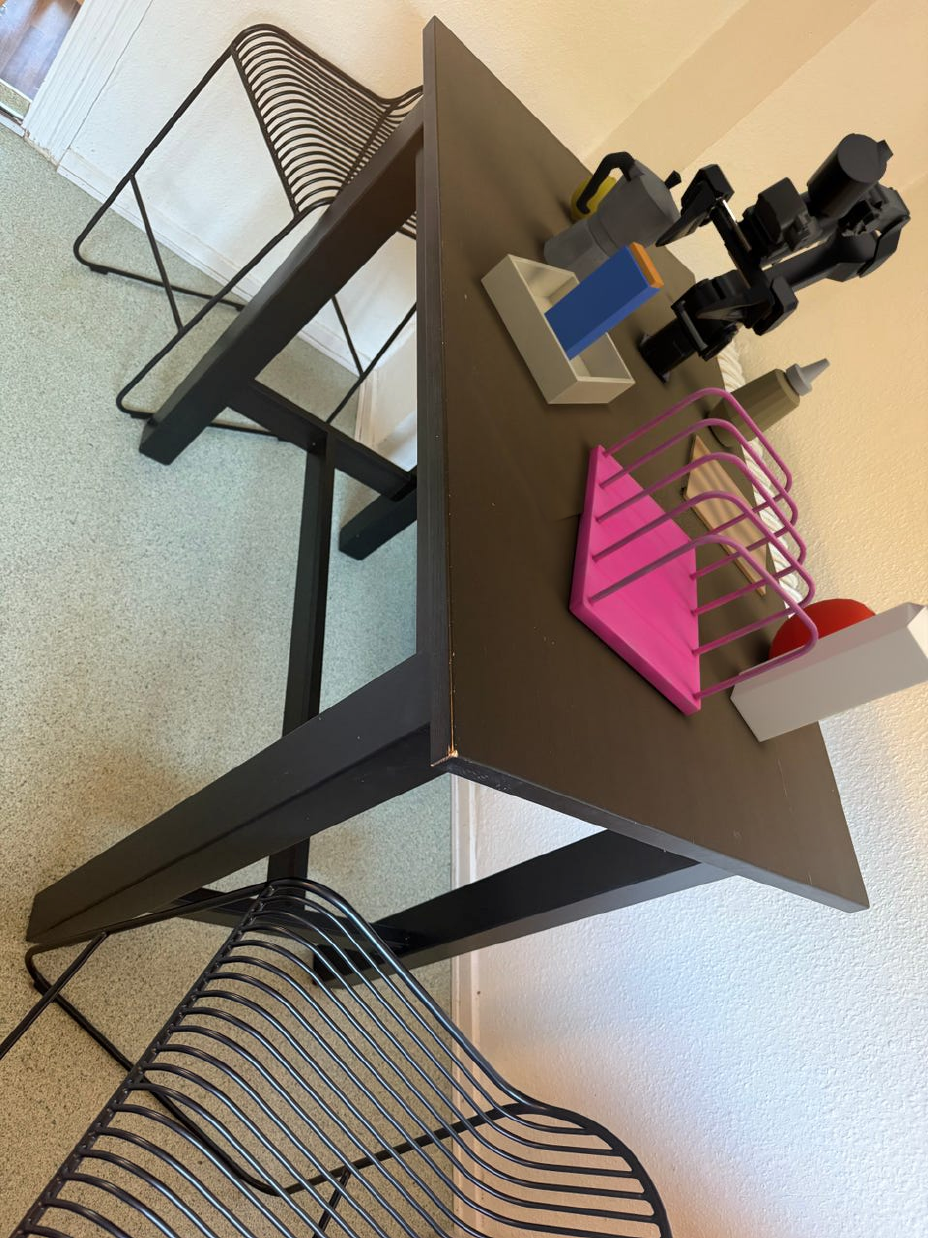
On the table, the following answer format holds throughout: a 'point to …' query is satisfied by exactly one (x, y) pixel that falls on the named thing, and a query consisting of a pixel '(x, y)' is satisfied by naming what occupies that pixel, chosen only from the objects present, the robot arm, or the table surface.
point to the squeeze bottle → (765, 400)
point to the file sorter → (671, 564)
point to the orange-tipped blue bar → (604, 299)
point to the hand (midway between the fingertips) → (677, 278)
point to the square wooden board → (723, 509)
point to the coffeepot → (615, 216)
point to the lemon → (594, 201)
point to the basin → (552, 334)
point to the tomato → (818, 623)
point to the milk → (838, 673)
